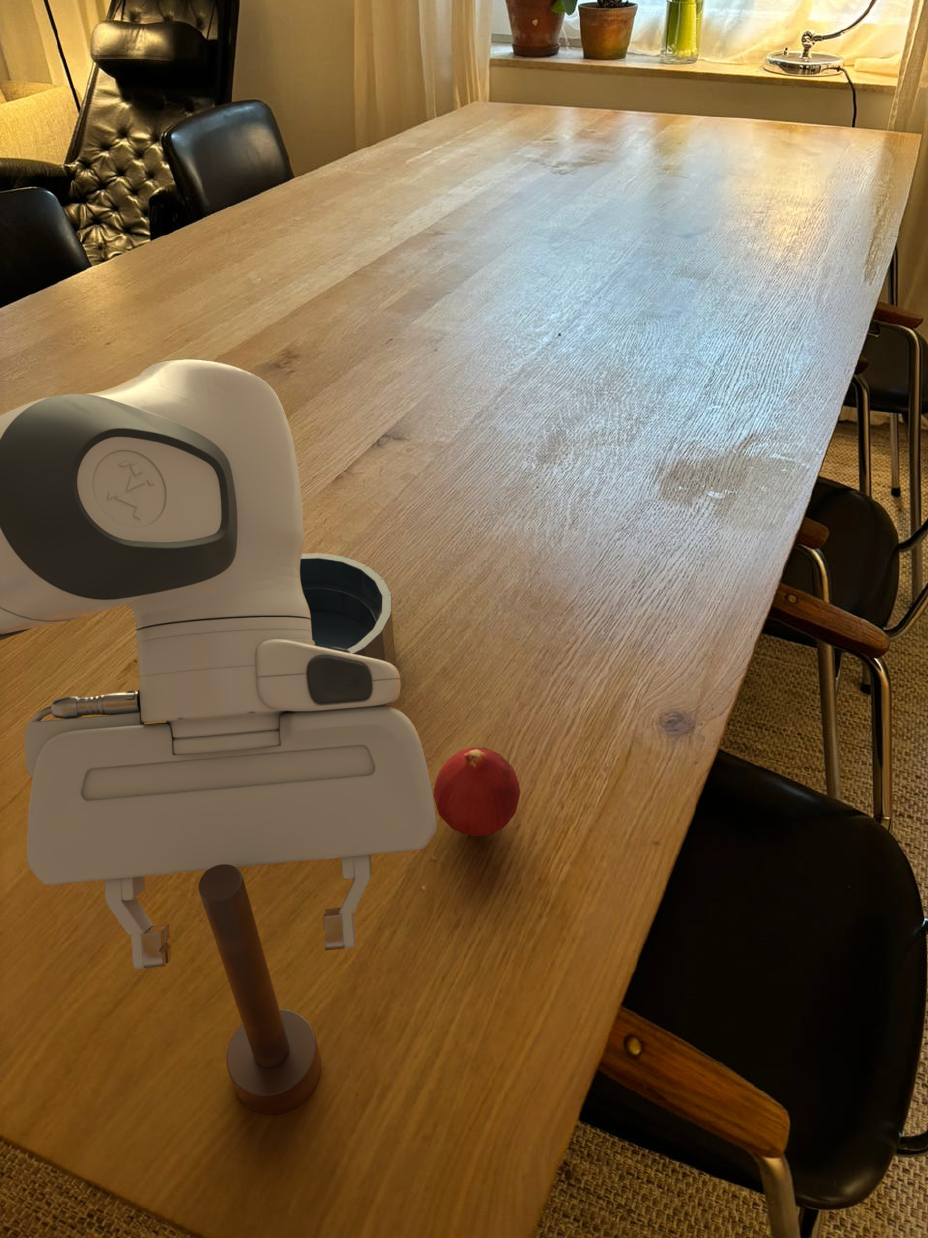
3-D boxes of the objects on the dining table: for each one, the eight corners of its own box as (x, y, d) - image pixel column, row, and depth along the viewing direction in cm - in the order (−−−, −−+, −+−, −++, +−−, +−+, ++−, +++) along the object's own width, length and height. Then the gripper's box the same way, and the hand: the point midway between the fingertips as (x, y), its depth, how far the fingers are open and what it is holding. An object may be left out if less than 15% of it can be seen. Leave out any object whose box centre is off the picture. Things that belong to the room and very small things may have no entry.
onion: (463, 782, 73) (461, 706, 68) (533, 813, 71) (536, 737, 65) (421, 838, 69) (415, 762, 64) (492, 873, 67) (492, 797, 62)
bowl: (239, 747, 76) (225, 691, 72) (207, 630, 87) (194, 576, 83) (419, 697, 80) (415, 641, 76) (368, 591, 90) (362, 537, 86)
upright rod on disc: (242, 1129, 55) (172, 946, 43) (226, 1046, 58) (157, 856, 46) (330, 1095, 56) (286, 909, 44) (309, 1016, 59) (263, 824, 47)
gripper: (-3, 699, 47) (11, 996, 46) (424, 664, 49) (448, 951, 48) (45, 700, 54) (59, 960, 53) (422, 668, 55) (443, 922, 54)
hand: (247, 956), depth 50 cm, fingers open, 8 cm apart
